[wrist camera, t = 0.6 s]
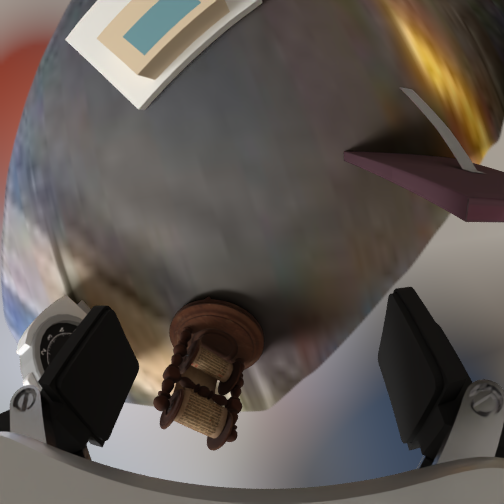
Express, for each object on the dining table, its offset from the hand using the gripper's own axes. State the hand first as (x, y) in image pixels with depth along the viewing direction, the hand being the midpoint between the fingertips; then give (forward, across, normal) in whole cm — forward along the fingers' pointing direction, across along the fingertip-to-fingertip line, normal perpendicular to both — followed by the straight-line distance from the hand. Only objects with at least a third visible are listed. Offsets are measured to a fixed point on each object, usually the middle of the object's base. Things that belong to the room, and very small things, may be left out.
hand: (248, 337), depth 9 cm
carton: (+26, +9, -21) cm, 35 cm away
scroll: (+28, +10, +24) cm, 38 cm away
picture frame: (+28, -18, -6) cm, 34 cm away
